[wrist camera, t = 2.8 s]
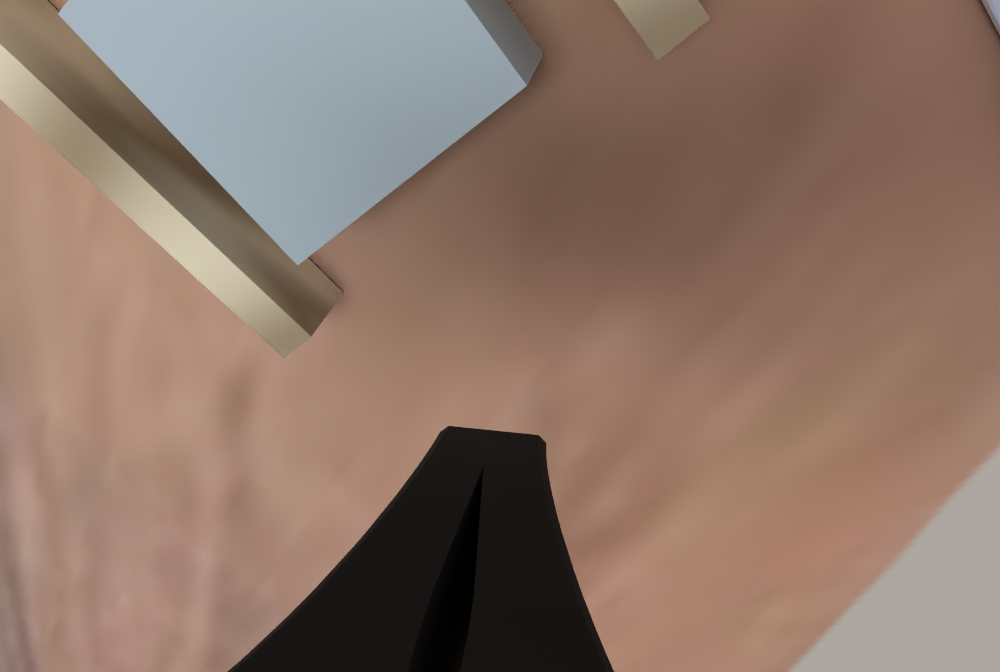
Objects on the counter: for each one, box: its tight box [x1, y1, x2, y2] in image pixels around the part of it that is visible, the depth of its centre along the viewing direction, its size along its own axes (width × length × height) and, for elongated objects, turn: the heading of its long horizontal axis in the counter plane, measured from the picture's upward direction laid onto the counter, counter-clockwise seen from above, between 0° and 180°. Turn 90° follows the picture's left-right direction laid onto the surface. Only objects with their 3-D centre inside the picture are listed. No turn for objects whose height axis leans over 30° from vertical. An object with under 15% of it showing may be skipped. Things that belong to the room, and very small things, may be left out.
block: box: [58, 0, 544, 265], centre depth 16 cm, size 7×7×4 cm
